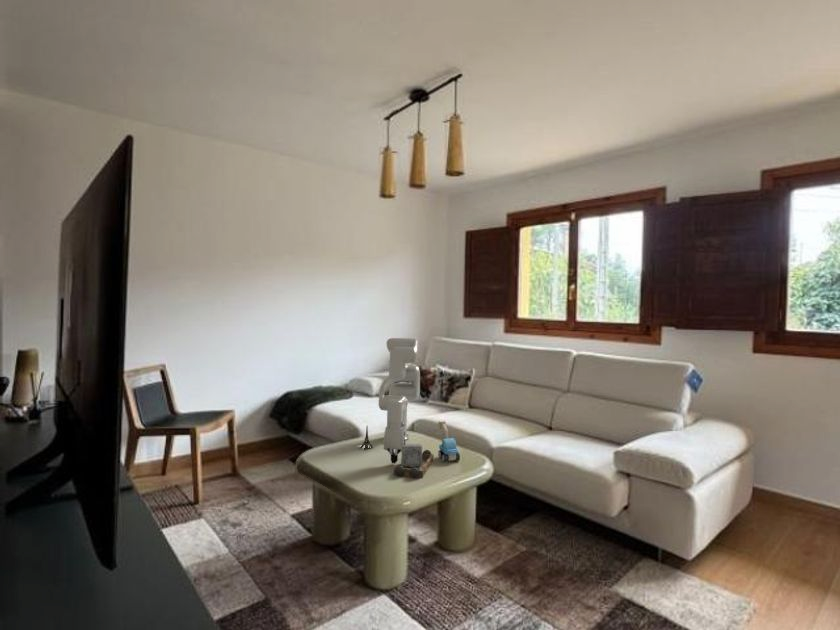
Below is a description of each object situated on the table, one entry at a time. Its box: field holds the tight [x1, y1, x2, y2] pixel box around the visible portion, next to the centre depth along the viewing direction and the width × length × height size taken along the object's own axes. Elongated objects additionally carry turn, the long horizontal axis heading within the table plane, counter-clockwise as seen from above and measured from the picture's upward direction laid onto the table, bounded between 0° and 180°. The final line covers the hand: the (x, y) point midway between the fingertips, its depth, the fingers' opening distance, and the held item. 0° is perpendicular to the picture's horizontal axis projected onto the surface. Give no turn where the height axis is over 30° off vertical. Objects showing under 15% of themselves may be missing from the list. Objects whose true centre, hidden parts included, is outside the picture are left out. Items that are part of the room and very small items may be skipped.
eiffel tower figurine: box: [359, 425, 374, 451], centre depth 244 cm, size 15×10×13 cm
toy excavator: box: [437, 420, 461, 463], centre depth 231 cm, size 9×17×17 cm, turn 18°
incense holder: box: [400, 443, 423, 469], centre depth 220 cm, size 10×8×10 cm
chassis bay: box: [393, 449, 434, 479], centre depth 218 cm, size 26×14×4 cm, turn 166°
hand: (394, 462), depth 220 cm, fingers closed
